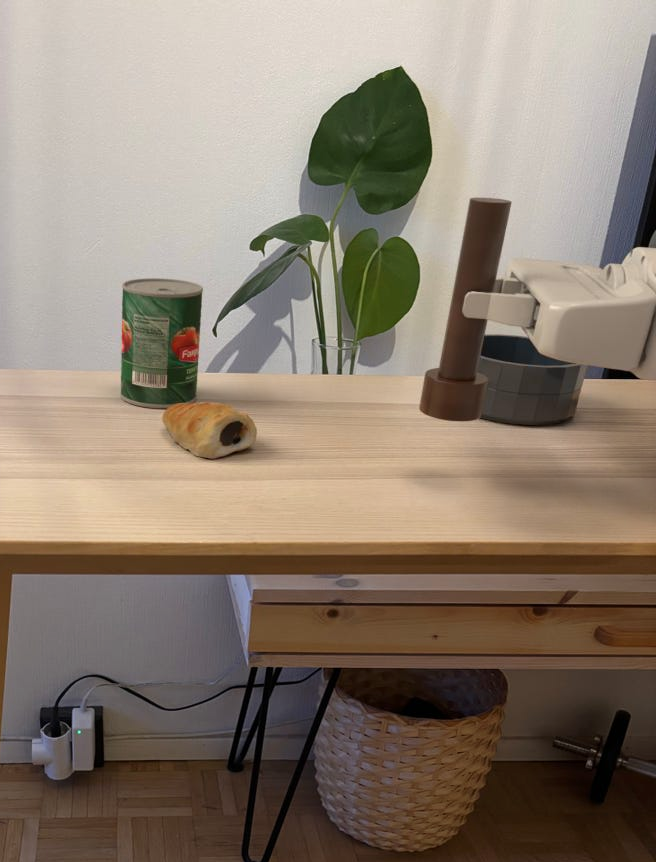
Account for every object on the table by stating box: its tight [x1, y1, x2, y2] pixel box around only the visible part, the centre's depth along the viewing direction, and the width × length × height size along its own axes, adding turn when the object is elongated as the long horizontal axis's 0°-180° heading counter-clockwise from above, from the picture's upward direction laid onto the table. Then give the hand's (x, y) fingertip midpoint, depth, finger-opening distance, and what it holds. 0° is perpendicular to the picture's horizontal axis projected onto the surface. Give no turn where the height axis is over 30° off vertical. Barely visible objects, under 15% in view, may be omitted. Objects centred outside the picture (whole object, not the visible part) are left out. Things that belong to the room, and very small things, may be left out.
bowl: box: [477, 333, 589, 426], centre depth 100 cm, size 13×13×6 cm
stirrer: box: [418, 197, 512, 422], centre depth 75 cm, size 5×5×16 cm
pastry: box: [161, 401, 258, 460], centre depth 86 cm, size 9×7×4 cm
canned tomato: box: [119, 277, 204, 409], centre depth 96 cm, size 8×8×11 cm
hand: (460, 297), depth 74 cm, fingers closed on stirrer, 3 cm apart
